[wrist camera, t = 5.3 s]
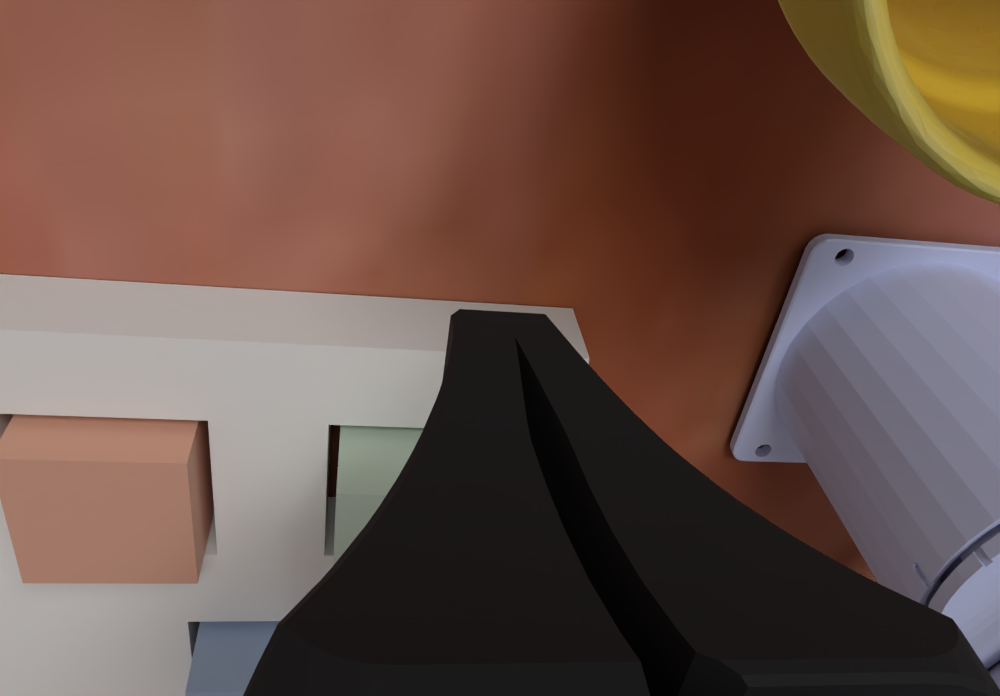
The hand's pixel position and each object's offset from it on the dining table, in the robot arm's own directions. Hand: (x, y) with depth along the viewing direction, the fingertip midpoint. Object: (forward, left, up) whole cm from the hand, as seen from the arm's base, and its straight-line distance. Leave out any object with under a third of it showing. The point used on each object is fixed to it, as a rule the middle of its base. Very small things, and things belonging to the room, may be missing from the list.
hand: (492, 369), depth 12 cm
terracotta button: (+8, +10, -9) cm, 16 cm away
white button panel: (+5, +14, -10) cm, 18 cm away
